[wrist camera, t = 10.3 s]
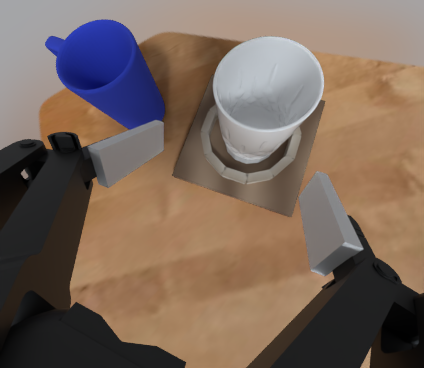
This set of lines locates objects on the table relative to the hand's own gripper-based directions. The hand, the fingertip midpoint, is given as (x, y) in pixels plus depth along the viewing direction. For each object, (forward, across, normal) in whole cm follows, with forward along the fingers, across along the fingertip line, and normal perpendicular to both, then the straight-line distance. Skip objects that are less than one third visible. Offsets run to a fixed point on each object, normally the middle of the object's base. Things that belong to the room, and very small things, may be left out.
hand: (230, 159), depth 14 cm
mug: (+10, -18, -2) cm, 20 cm away
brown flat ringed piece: (+10, 0, -2) cm, 10 cm away
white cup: (+9, +1, -1) cm, 9 cm away
